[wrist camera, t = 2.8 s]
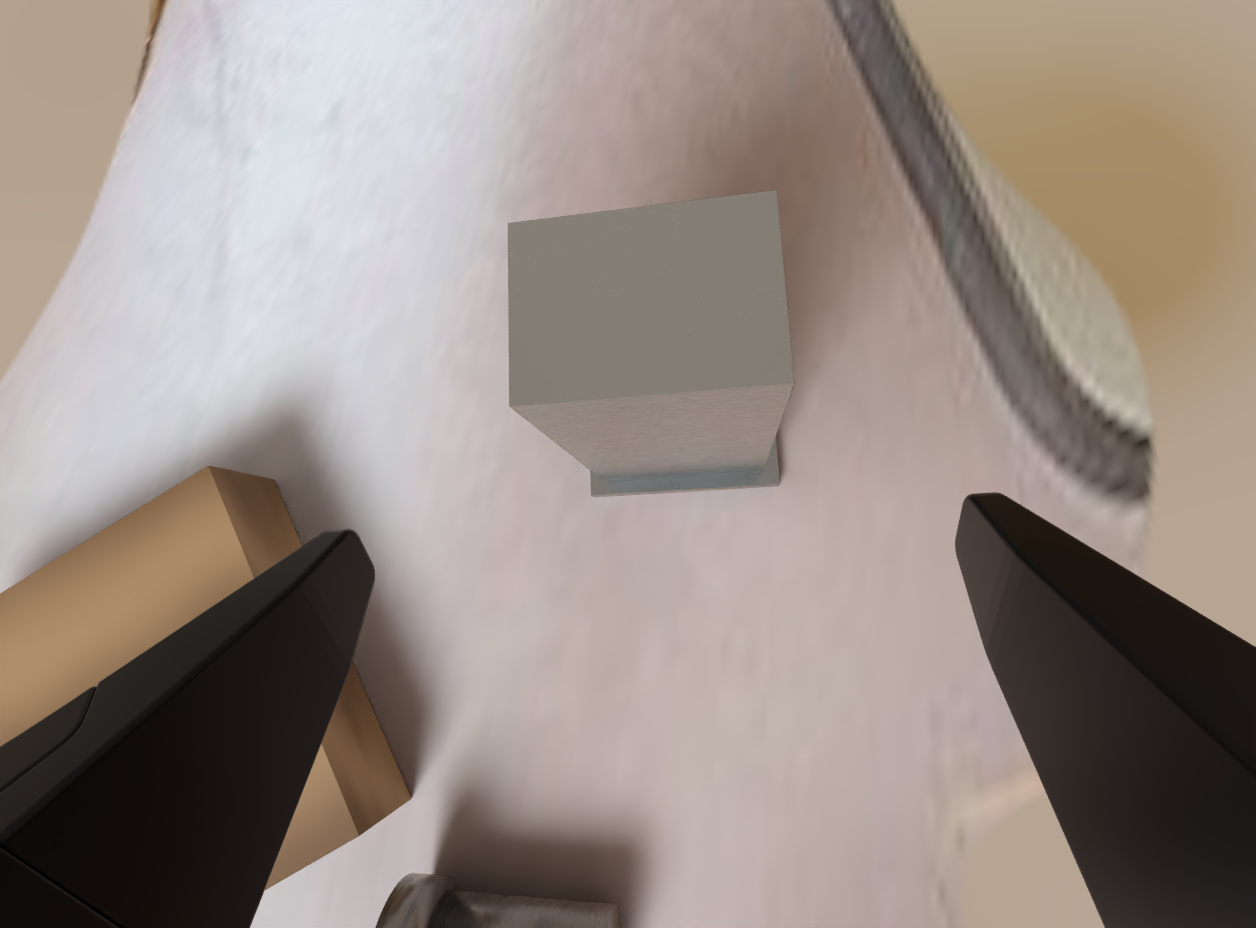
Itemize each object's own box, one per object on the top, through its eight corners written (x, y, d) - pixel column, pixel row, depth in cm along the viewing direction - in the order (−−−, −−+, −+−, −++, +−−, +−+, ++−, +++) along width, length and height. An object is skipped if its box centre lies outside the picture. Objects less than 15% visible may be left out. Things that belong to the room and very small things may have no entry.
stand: (411, 798, 20) (358, 836, 17) (101, 977, 21) (0, 1042, 18) (274, 479, 23) (208, 465, 20) (2, 645, 24) (-101, 655, 21)
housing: (778, 486, 20) (827, 403, 11) (594, 497, 21) (482, 430, 11) (767, 354, 21) (803, 165, 11) (590, 370, 22) (482, 207, 12)
